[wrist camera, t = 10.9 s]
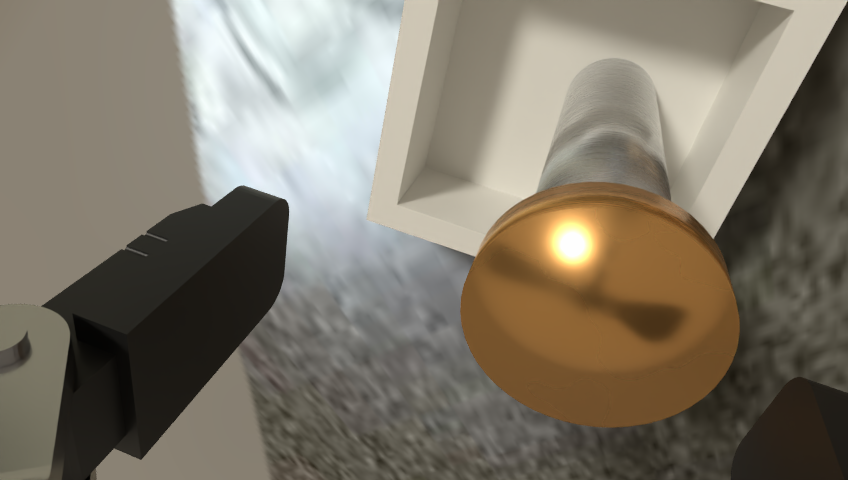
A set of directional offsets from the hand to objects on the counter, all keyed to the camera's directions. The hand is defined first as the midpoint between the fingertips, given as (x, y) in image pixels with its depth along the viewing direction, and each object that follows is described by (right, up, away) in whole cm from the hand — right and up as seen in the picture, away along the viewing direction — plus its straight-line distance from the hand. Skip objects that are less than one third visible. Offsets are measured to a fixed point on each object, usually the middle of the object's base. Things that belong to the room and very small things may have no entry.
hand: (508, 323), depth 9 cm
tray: (+4, +7, +12) cm, 15 cm away
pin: (+5, +6, +11) cm, 14 cm away
